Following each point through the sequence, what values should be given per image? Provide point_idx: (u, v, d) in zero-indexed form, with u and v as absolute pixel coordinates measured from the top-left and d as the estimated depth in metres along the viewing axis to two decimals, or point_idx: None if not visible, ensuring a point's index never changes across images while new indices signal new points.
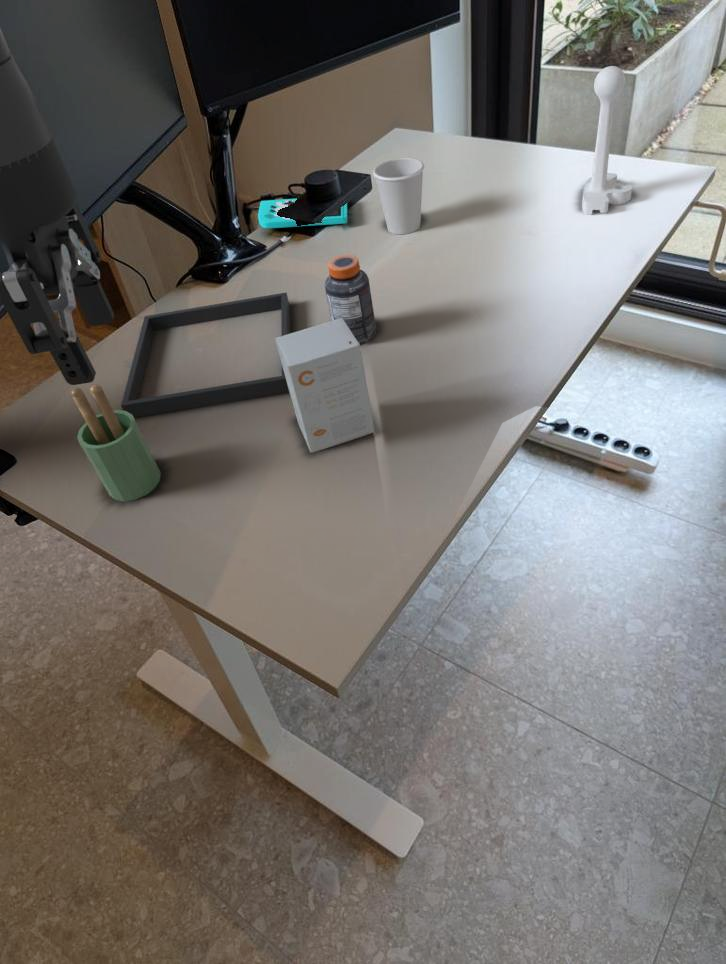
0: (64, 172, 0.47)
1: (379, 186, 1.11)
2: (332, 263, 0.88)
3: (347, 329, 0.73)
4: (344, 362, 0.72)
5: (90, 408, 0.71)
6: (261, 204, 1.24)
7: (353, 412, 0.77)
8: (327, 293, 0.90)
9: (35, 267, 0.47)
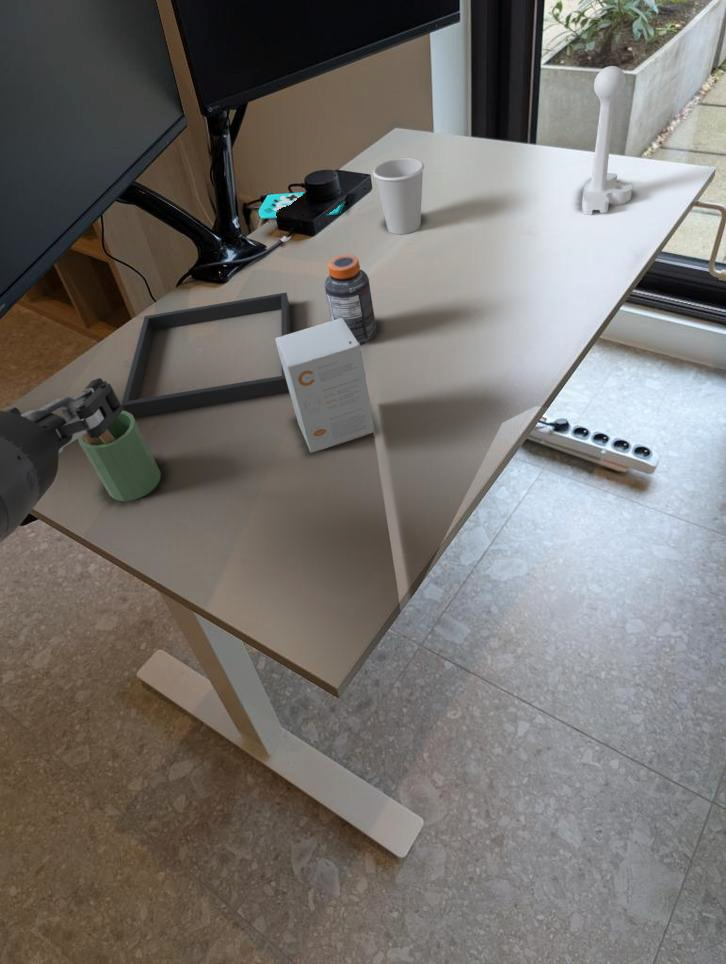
0: None
1: (379, 186, 1.11)
2: (332, 263, 0.88)
3: (347, 329, 0.73)
4: (344, 362, 0.72)
5: None
6: (266, 198, 1.31)
7: (353, 412, 0.77)
8: (327, 293, 0.90)
9: None
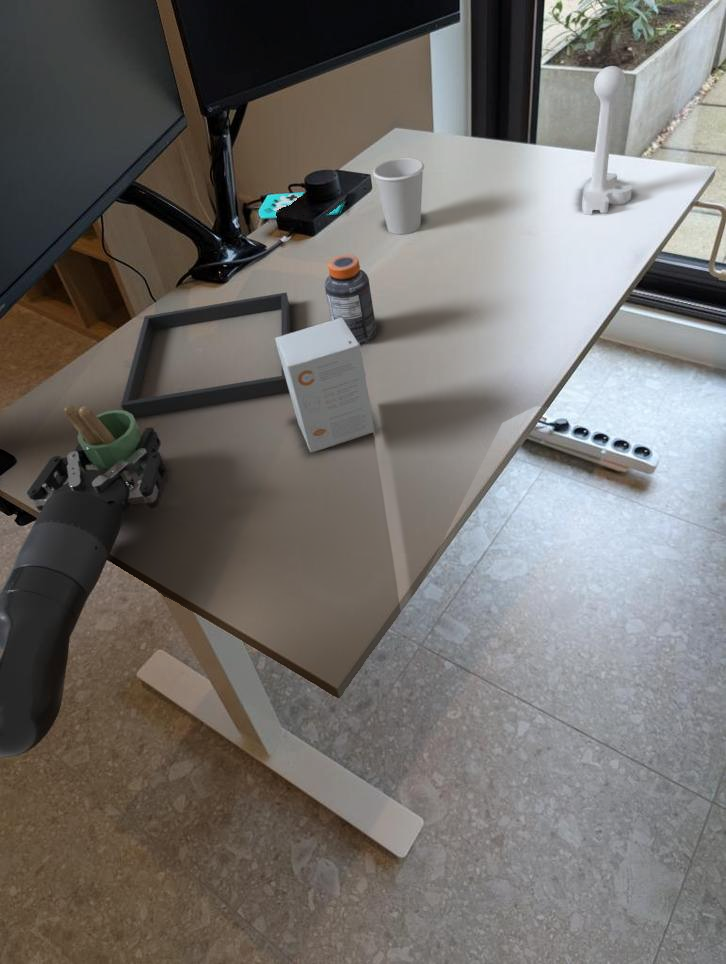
0: None
1: (379, 186, 1.11)
2: (332, 263, 0.88)
3: (347, 329, 0.73)
4: (344, 362, 0.72)
5: (84, 423, 0.70)
6: (266, 198, 1.31)
7: (353, 412, 0.77)
8: (327, 293, 0.90)
9: None
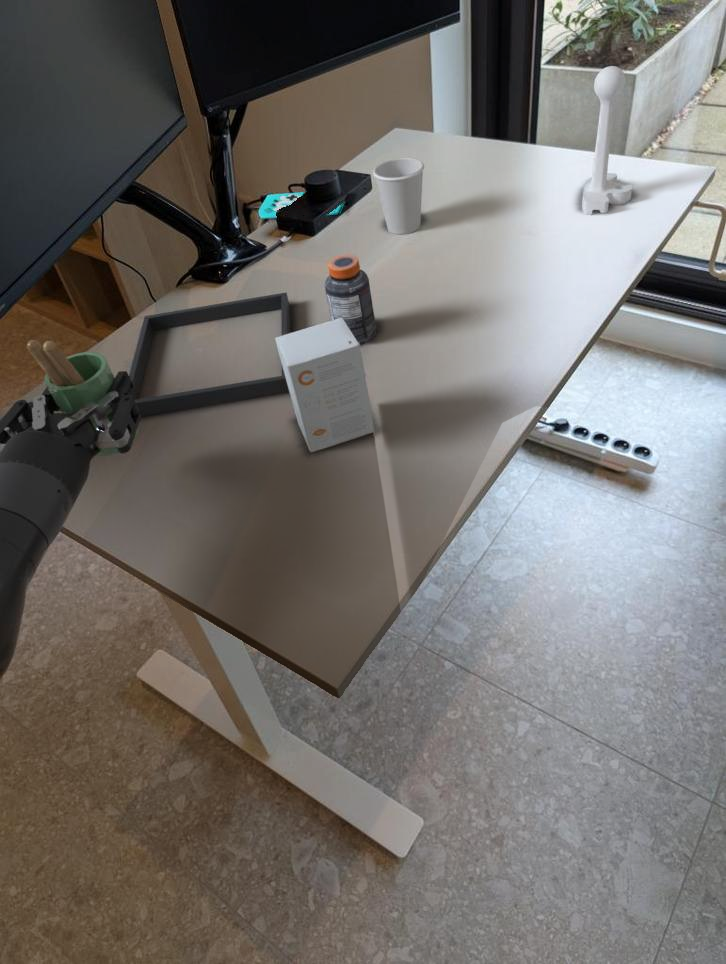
0: None
1: (379, 186, 1.11)
2: (332, 263, 0.88)
3: (347, 329, 0.73)
4: (344, 362, 0.72)
5: (50, 361, 0.64)
6: (266, 198, 1.31)
7: (353, 412, 0.77)
8: (327, 293, 0.90)
9: None
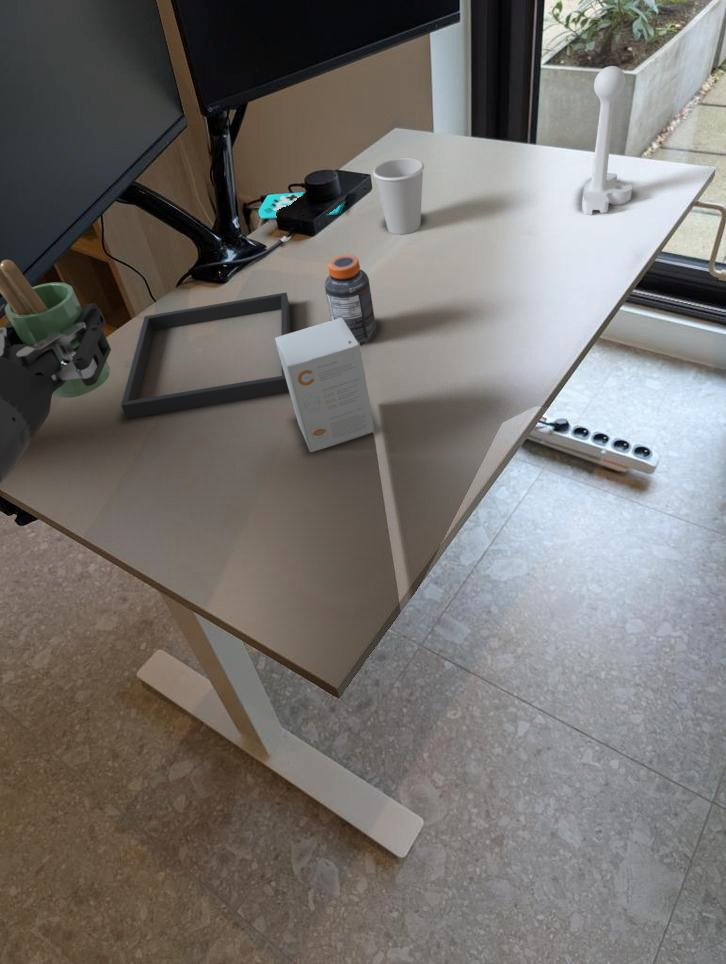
0: None
1: (379, 186, 1.11)
2: (332, 263, 0.88)
3: (347, 329, 0.73)
4: (344, 362, 0.72)
5: (10, 285, 0.59)
6: (266, 198, 1.31)
7: (353, 412, 0.77)
8: (327, 293, 0.90)
9: None
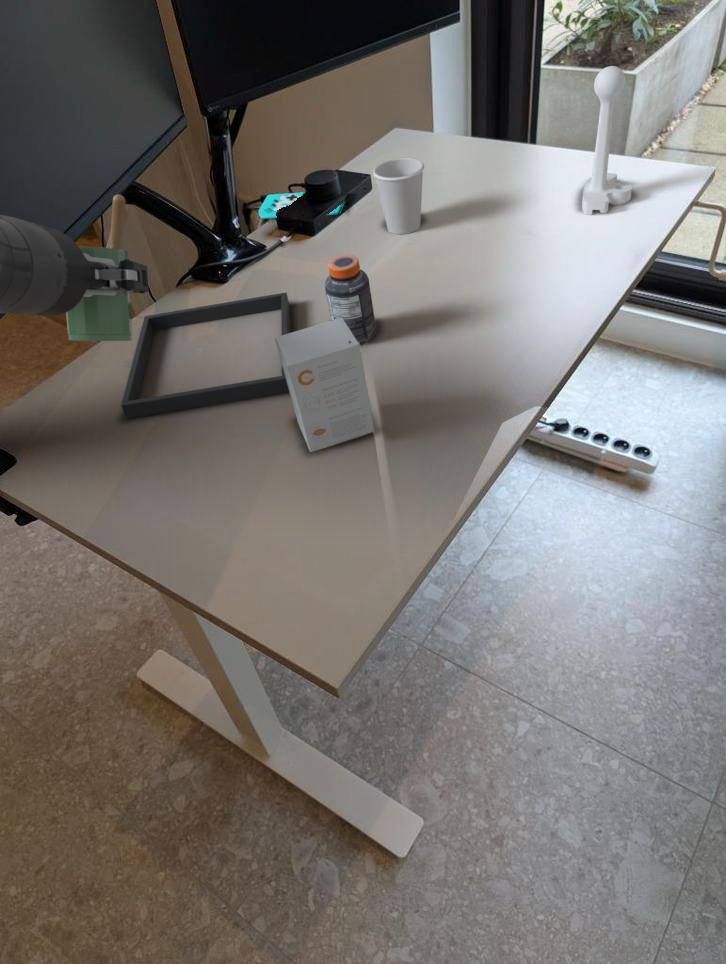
0: (41, 315, 0.59)
1: (379, 186, 1.11)
2: (332, 263, 0.88)
3: (347, 329, 0.73)
4: (344, 361, 0.72)
5: None
6: (266, 198, 1.31)
7: (353, 412, 0.77)
8: (327, 293, 0.90)
9: None
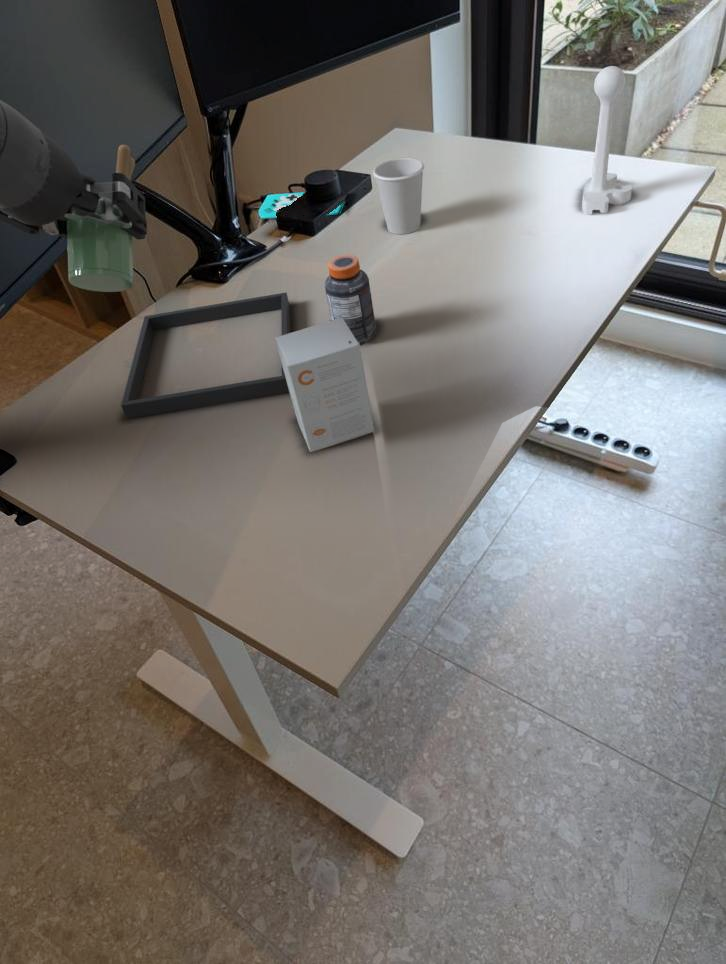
0: (28, 217, 0.58)
1: (379, 186, 1.11)
2: (332, 263, 0.88)
3: (347, 329, 0.73)
4: (344, 362, 0.72)
5: None
6: (266, 198, 1.31)
7: (353, 412, 0.77)
8: (327, 293, 0.90)
9: None
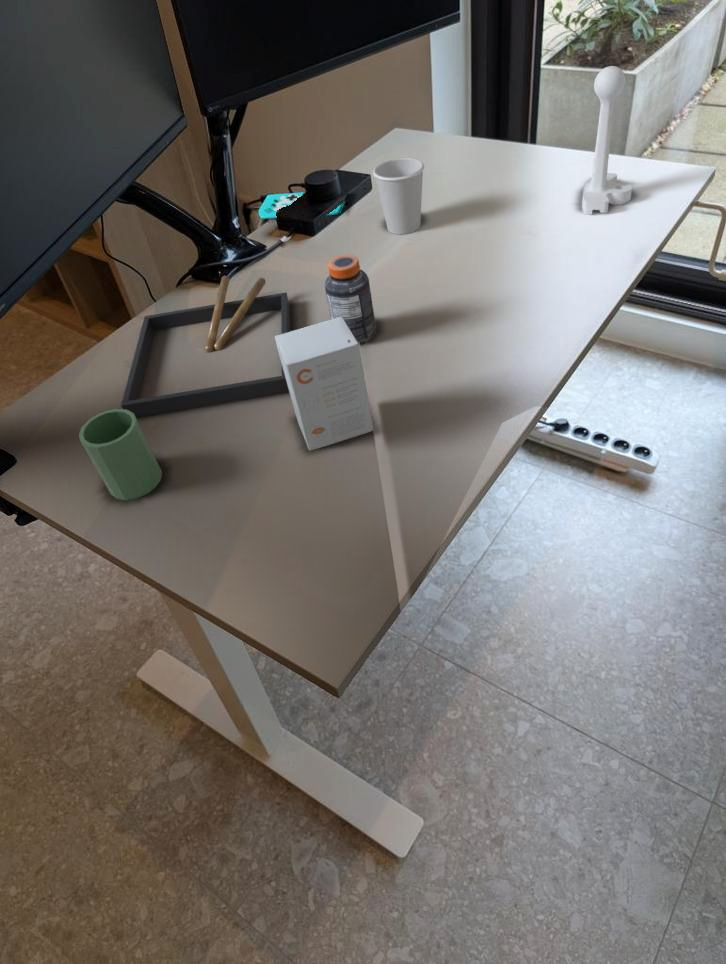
0: None
1: (379, 186, 1.11)
2: (332, 263, 0.88)
3: (346, 328, 0.74)
4: (343, 360, 0.72)
5: None
6: (266, 198, 1.31)
7: (352, 411, 0.77)
8: (327, 293, 0.90)
9: None
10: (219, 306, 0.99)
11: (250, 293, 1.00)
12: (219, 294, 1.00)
